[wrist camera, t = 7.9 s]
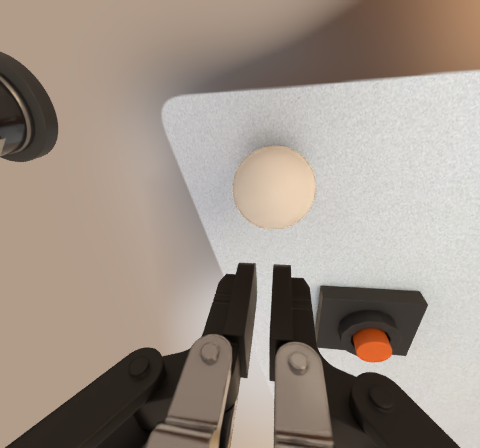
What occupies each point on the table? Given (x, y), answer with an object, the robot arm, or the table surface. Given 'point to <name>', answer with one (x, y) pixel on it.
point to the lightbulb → (274, 187)
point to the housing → (367, 316)
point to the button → (372, 345)
